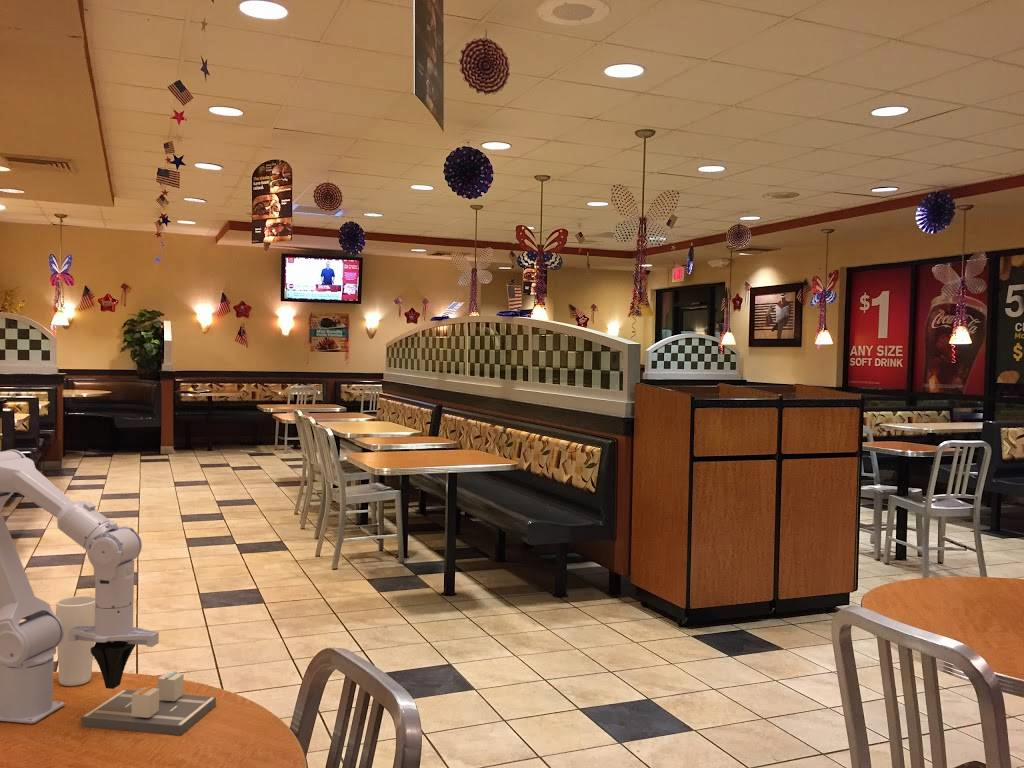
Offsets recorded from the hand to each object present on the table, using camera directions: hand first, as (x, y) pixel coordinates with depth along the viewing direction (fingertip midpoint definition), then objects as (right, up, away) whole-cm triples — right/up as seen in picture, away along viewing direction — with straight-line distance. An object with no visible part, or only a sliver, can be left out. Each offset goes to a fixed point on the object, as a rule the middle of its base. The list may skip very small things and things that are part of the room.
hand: (112, 686), depth 139 cm
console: (+5, -6, +3) cm, 8 cm away
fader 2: (+7, -4, +6) cm, 10 cm away
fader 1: (+6, -4, -1) cm, 7 cm away
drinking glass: (-15, -5, +16) cm, 23 cm away
